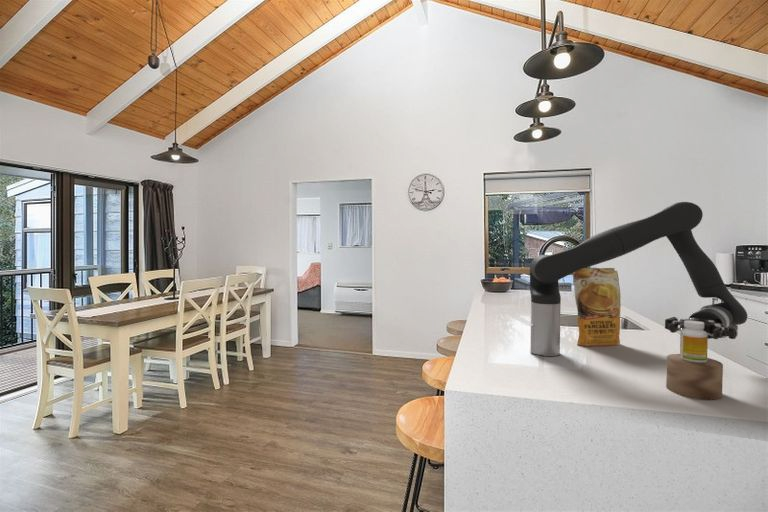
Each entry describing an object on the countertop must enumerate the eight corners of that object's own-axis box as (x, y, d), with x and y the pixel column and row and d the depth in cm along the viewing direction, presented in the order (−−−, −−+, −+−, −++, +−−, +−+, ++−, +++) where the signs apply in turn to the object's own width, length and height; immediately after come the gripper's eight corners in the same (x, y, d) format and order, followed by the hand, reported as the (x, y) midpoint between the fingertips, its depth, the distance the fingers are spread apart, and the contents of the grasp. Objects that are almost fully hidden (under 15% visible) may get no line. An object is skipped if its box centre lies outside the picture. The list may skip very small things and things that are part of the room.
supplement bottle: (712, 363, 95) (713, 324, 94) (687, 362, 96) (688, 323, 95) (699, 357, 100) (699, 319, 99) (675, 356, 101) (676, 319, 100)
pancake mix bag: (566, 342, 144) (567, 267, 143) (615, 340, 146) (616, 266, 145) (577, 347, 138) (578, 268, 136) (627, 345, 139) (629, 268, 138)
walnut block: (674, 396, 95) (675, 364, 94) (660, 381, 105) (661, 352, 105) (730, 403, 91) (731, 369, 90) (710, 386, 101) (711, 356, 101)
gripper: (677, 305, 111) (659, 312, 101) (744, 312, 100) (731, 321, 90) (677, 331, 112) (658, 340, 102) (743, 341, 101) (730, 353, 91)
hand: (692, 331), depth 96 cm, fingers open, 8 cm apart
